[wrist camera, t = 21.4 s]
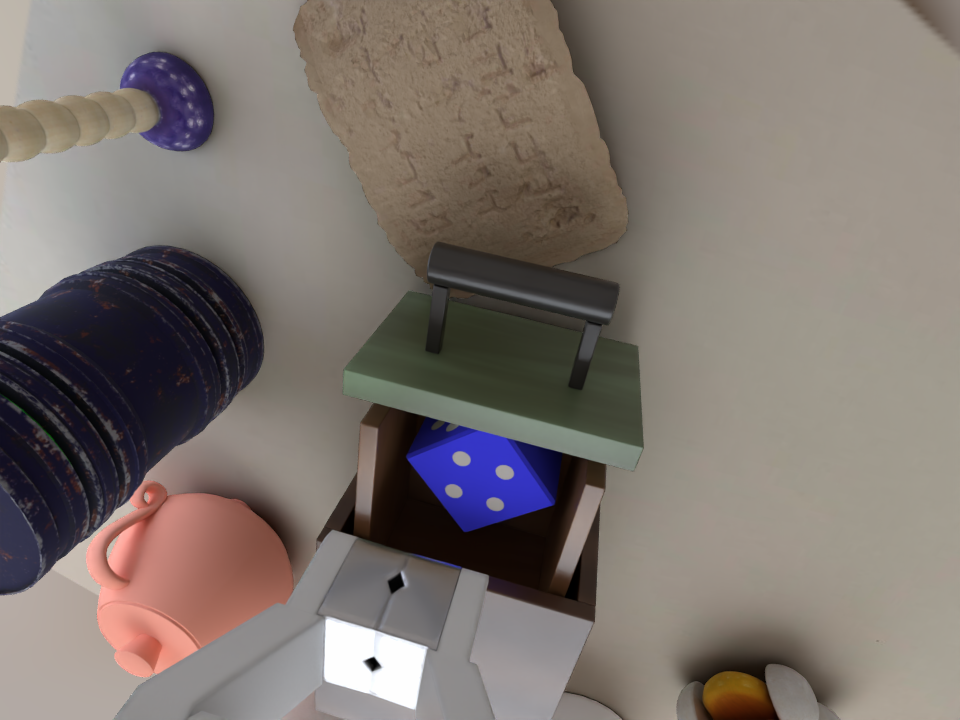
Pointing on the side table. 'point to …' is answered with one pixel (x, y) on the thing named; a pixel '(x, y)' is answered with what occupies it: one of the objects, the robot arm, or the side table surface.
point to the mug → (582, 709)
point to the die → (483, 473)
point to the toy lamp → (115, 113)
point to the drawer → (495, 410)
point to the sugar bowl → (183, 575)
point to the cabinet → (498, 640)
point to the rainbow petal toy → (752, 698)
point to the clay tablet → (464, 126)
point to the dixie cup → (308, 711)
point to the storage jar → (109, 393)
